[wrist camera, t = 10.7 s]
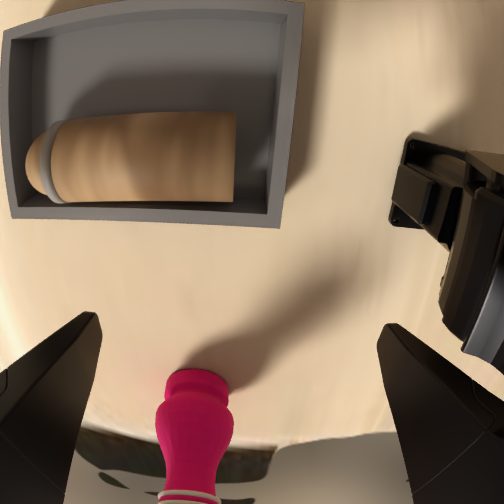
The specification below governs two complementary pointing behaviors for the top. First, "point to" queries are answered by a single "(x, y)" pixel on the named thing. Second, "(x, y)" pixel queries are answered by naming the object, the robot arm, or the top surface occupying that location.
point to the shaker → (136, 158)
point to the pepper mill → (193, 435)
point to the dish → (157, 94)
